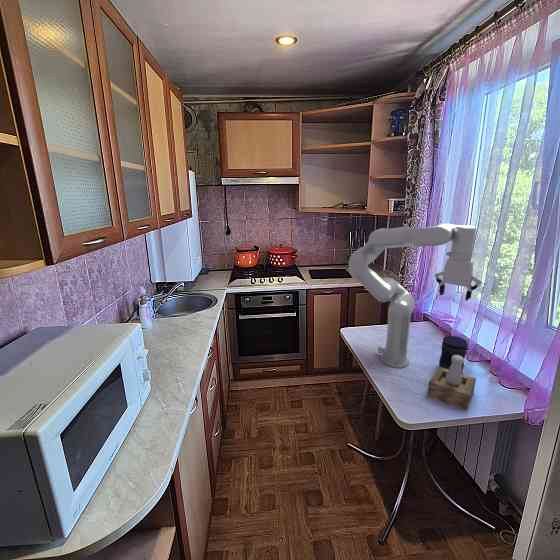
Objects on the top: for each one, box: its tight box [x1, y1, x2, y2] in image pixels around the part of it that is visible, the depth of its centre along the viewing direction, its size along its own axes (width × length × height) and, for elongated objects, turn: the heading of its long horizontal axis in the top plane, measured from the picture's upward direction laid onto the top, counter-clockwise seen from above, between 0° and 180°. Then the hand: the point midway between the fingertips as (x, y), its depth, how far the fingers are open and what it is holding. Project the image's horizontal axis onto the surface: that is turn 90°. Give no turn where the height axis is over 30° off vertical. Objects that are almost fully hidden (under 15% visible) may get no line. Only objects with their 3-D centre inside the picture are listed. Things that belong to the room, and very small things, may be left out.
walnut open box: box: [426, 366, 477, 411], centre depth 129 cm, size 14×14×7 cm
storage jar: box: [438, 335, 469, 374], centre depth 144 cm, size 10×10×15 cm
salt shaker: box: [445, 355, 465, 387], centre depth 126 cm, size 6×6×13 cm
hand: (454, 297), depth 133 cm, fingers open, 9 cm apart
